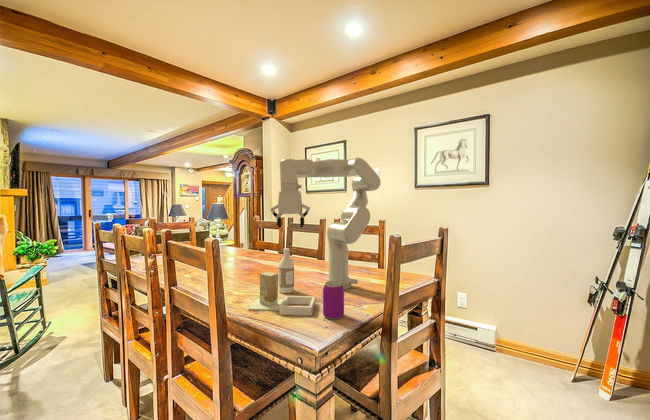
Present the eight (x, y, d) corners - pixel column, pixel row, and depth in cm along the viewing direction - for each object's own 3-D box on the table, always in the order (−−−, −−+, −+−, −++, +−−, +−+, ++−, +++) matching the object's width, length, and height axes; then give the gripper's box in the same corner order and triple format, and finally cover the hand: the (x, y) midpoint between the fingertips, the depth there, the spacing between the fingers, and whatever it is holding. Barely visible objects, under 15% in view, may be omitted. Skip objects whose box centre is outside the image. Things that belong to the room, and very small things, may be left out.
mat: (285, 300, 117) (285, 299, 117) (279, 310, 106) (278, 309, 106) (257, 299, 118) (257, 298, 118) (248, 309, 107) (248, 308, 107)
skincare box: (259, 303, 112) (259, 273, 112) (266, 300, 116) (266, 271, 115) (271, 306, 109) (270, 275, 108) (278, 303, 112) (278, 273, 112)
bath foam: (283, 294, 125) (282, 250, 124) (276, 290, 131) (276, 248, 130) (296, 291, 129) (296, 249, 128) (290, 288, 134) (289, 247, 134)
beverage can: (319, 318, 99) (319, 285, 99) (327, 310, 106) (327, 279, 106) (340, 322, 96) (340, 287, 96) (346, 313, 103) (346, 281, 103)
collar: (315, 303, 114) (315, 296, 114) (311, 315, 102) (311, 307, 102) (286, 302, 114) (286, 295, 114) (279, 314, 103) (279, 306, 102)
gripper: (310, 187, 124) (311, 225, 125) (272, 188, 125) (273, 226, 126) (308, 187, 116) (309, 227, 117) (267, 188, 118) (269, 228, 118)
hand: (290, 227), depth 122 cm, fingers open, 9 cm apart
